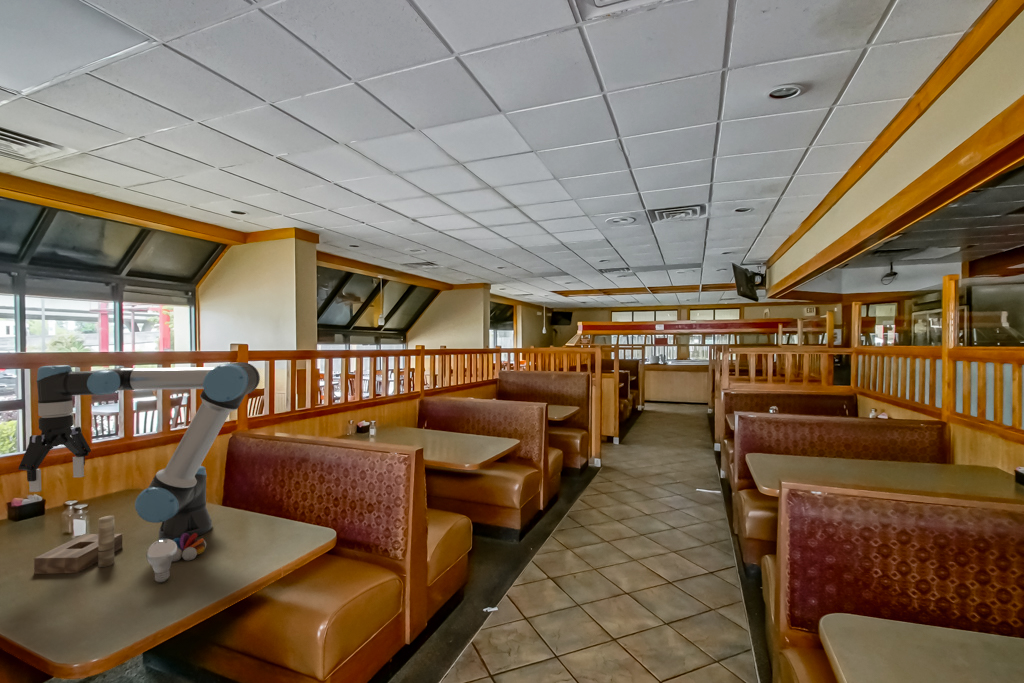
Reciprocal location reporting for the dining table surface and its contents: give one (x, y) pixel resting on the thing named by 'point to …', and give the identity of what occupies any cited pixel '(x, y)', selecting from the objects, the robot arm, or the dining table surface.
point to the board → (72, 555)
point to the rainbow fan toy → (189, 546)
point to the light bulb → (161, 557)
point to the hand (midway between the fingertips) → (58, 484)
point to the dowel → (106, 541)
